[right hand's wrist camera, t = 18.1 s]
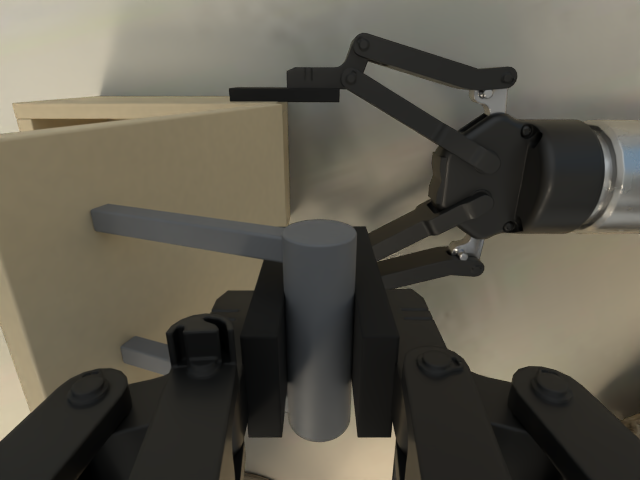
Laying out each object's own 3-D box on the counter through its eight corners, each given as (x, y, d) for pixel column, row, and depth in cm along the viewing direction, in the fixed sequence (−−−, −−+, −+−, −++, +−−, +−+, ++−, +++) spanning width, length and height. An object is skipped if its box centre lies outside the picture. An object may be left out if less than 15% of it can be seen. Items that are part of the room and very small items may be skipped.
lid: (47, 465, 12) (309, 583, 10) (-65, 140, 9) (304, 172, 6) (274, 265, 26) (413, 288, 23) (266, 103, 22) (430, 107, 19)
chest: (121, 216, 35) (54, 263, 26) (98, 96, 31) (11, 103, 22) (290, 216, 35) (281, 262, 26) (287, 96, 31) (275, 103, 22)
